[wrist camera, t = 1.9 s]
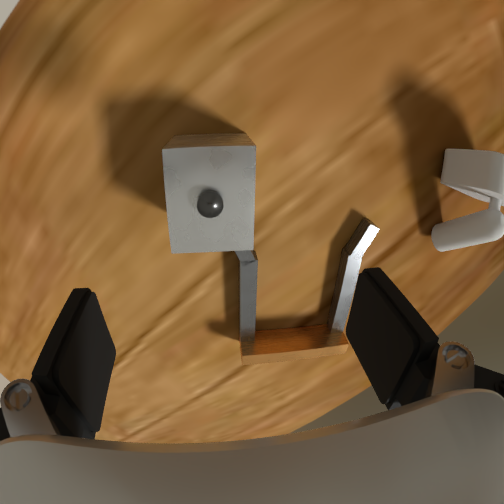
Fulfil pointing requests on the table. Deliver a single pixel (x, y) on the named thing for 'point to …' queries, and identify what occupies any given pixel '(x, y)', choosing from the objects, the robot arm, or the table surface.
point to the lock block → (210, 192)
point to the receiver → (300, 338)
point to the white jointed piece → (477, 186)
